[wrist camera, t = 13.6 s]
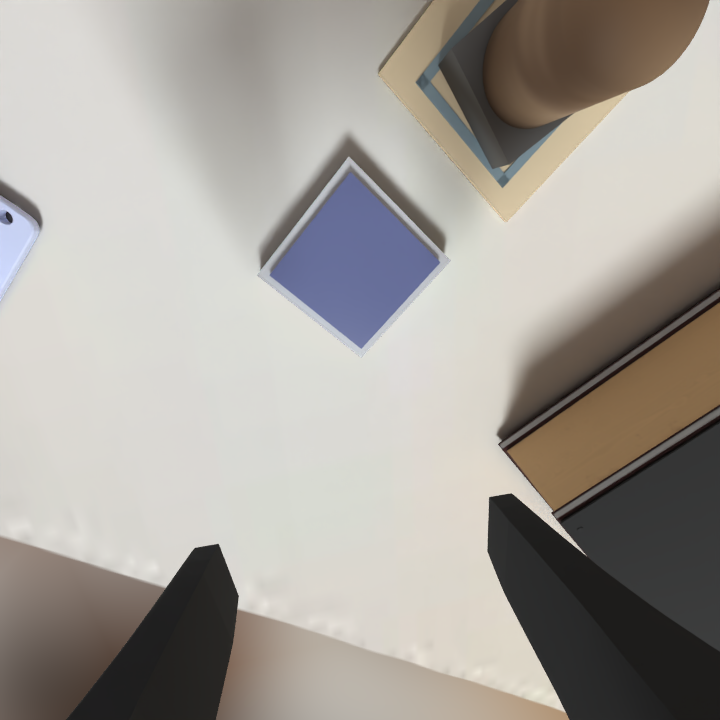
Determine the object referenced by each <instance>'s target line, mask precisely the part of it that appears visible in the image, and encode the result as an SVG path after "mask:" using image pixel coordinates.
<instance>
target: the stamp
mask: <svg viewBox="0 0 720 720" xmlns="http://www.w3.org/2000/svg"><path fill="white" fill-rule="evenodd" d="M709 1H710V0H506V1H505V2H503V3H502V4H501V5H500V6H499V7H498V8H497V9H496V10H494V11H493V12H492V13H491V14H490V15H489V16H488V17H486V18H485V19H484V20H483V21H482V22H481V23H480V24H479V25H477V26H476V27H475V28H474V29H473V30H472V31H471V32H469V33H468V34H467V35H466V36H465V37H464V38H463V39H462V40H460V41H459V42H458V43H457V44H456V45H455V46H454V47H452V48H451V50H450V51H449V52H448V53H447V55H446V56H445V57H444V58H443V60H442V61H441V62H440V63H439V65H438V66H439V68H440V70H441V72H442V74H443V75H444V77H445V79H446V81H447V83H448V85H449V87H450V89H451V91H452V93H453V95H454V97H455V98H456V100H457V102H458V104H459V106H460V108H461V110H462V112H463V114H464V116H465V118H466V120H467V122H468V123H469V125H470V127H471V129H472V131H473V133H474V135H475V137H476V139H477V141H478V143H479V145H480V146H481V148H482V150H483V152H484V154H485V156H486V158H487V160H488V162H489V164H490V166H491V168H492V169H495V168H498V167H502V166H506V165H510V164H511V163H512V162H513V161H515V160H516V159H517V158H518V157H520V156H521V155H522V154H523V153H525V152H526V151H527V150H528V149H530V148H531V147H532V146H534V145H535V144H536V143H537V142H539V141H540V140H541V139H542V138H544V137H545V136H546V135H547V134H549V133H550V132H551V131H552V130H554V129H555V128H556V127H557V126H559V125H560V124H561V123H562V122H564V121H565V120H566V119H567V118H569V117H570V116H571V115H572V114H574V113H575V112H578V111H580V110H583V109H585V108H588V107H590V106H593V105H595V104H598V103H600V102H603V101H606V100H608V99H611V98H613V97H616V96H618V95H621V94H623V93H626V92H628V91H631V90H633V89H636V88H638V87H641V86H643V85H645V84H647V83H649V82H651V81H653V80H654V79H656V78H657V77H659V76H660V75H662V74H663V73H664V72H665V71H666V70H667V69H669V68H670V67H671V66H672V65H673V64H674V63H675V62H676V61H677V59H678V58H679V57H680V56H681V55H682V53H683V52H684V51H685V50H686V48H687V47H688V45H689V44H690V42H691V41H692V39H693V38H694V36H695V34H696V32H697V30H698V28H699V26H700V24H701V22H702V20H703V17H704V15H705V13H706V10H707V7H708V4H709Z"/></svg>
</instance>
